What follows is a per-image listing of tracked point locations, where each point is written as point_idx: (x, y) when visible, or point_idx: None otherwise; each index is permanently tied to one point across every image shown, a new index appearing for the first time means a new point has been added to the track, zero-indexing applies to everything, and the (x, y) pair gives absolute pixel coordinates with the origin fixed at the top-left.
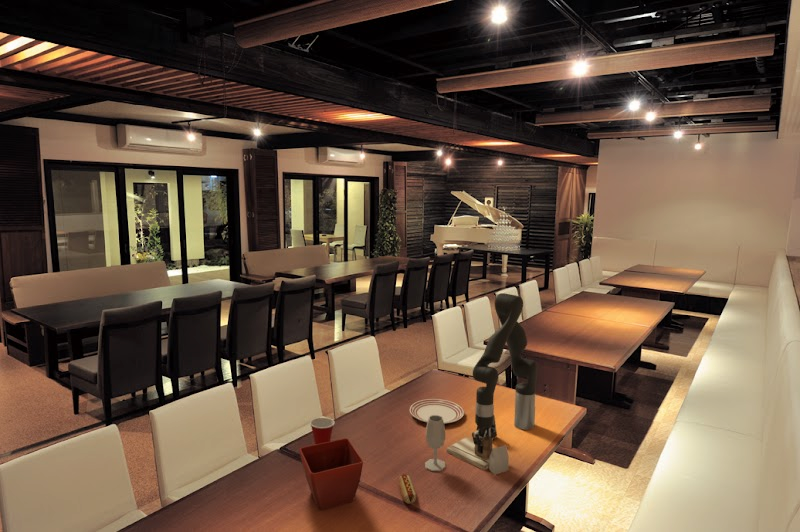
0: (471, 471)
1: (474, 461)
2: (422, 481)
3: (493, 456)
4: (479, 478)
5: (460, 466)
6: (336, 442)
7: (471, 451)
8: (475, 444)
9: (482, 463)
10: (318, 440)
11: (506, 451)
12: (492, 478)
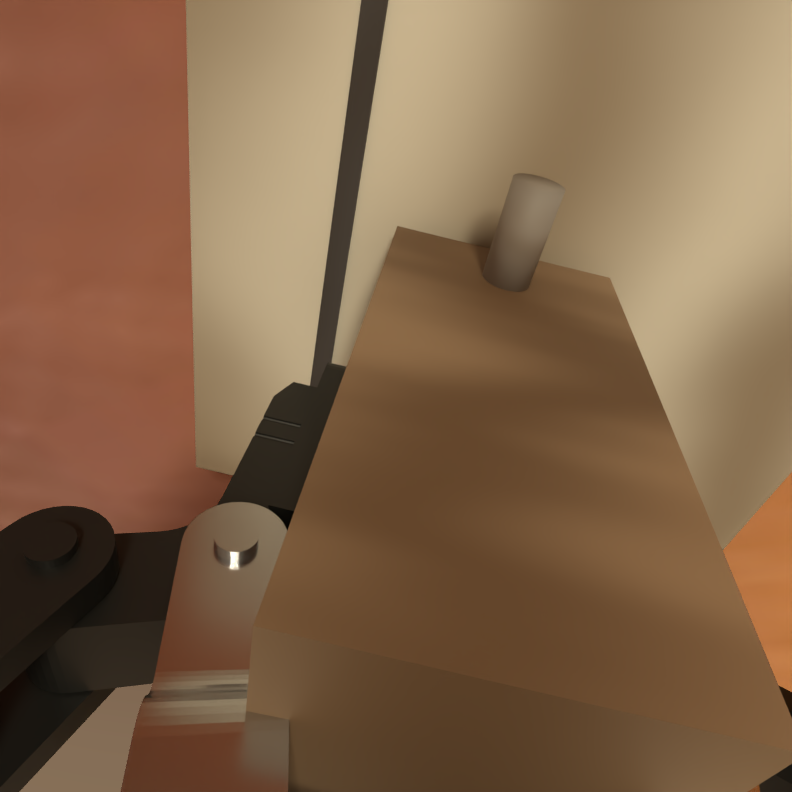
0: (68, 289)
1: (195, 301)
2: None
3: None
4: (40, 422)
5: (15, 53)
6: None
7: (507, 78)
8: (348, 369)
9: (228, 429)
10: None
11: None
12: (159, 521)
